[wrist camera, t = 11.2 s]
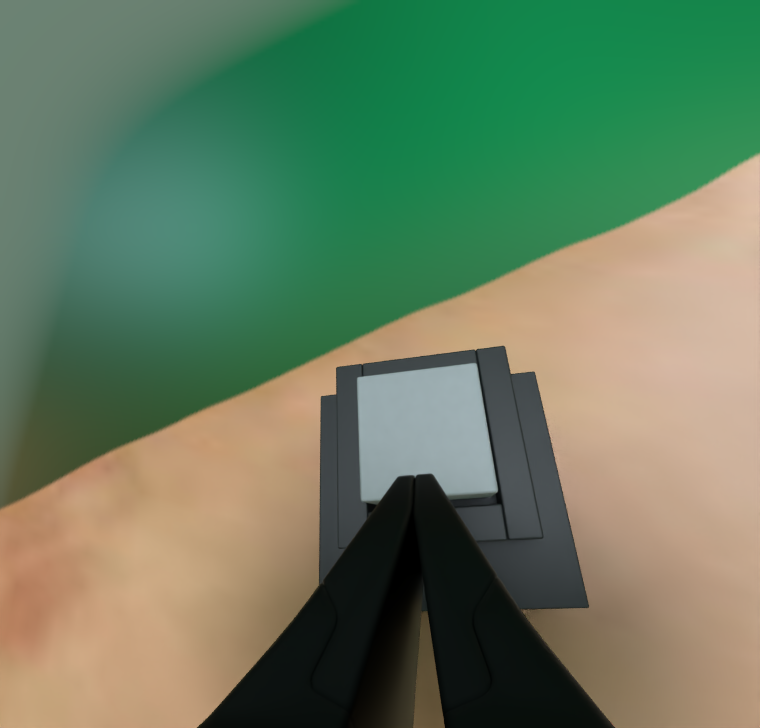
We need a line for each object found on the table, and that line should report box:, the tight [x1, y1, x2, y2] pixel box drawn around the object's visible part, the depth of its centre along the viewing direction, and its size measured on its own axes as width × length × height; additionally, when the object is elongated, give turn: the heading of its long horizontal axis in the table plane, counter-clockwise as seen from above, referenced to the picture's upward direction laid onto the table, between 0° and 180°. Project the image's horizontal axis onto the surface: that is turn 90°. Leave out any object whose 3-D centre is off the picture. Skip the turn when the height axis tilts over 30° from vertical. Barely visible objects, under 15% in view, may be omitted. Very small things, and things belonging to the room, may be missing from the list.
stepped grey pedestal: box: [319, 346, 589, 611], centre depth 17 cm, size 10×10×6 cm
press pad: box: [357, 363, 498, 504], centre depth 14 cm, size 4×4×2 cm
